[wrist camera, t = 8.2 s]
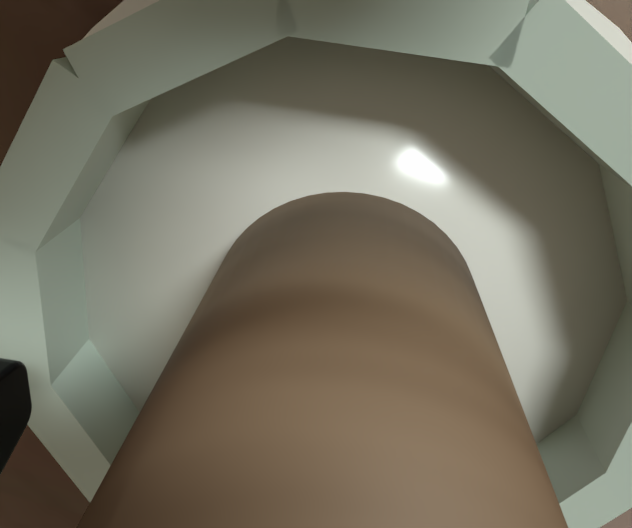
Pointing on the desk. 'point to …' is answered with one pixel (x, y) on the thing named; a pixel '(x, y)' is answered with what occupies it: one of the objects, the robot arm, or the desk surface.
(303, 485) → the brown domed cylinder
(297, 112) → the ring dish
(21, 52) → the desk surface
